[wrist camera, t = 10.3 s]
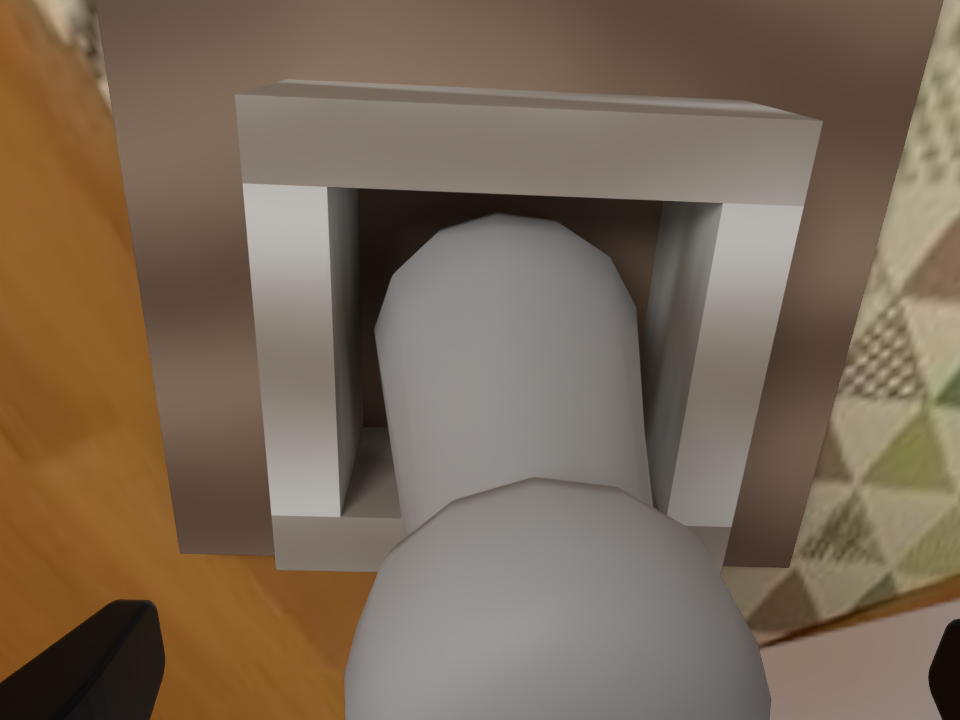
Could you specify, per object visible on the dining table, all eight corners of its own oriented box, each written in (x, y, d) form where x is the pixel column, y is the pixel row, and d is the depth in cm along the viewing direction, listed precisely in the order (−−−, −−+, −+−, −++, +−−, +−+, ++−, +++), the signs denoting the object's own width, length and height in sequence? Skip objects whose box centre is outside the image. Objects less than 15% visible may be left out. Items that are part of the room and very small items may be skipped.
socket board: (773, 542, 23) (853, 674, 18) (193, 528, 23) (121, 661, 18) (921, -33, 17) (1103, -57, 12) (108, -76, 16) (-43, -119, 11)
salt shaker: (616, 400, 20) (846, 969, 8) (403, 418, 20) (308, 1006, 8) (614, 179, 17) (945, 515, 5) (371, 200, 17) (168, 577, 5)
